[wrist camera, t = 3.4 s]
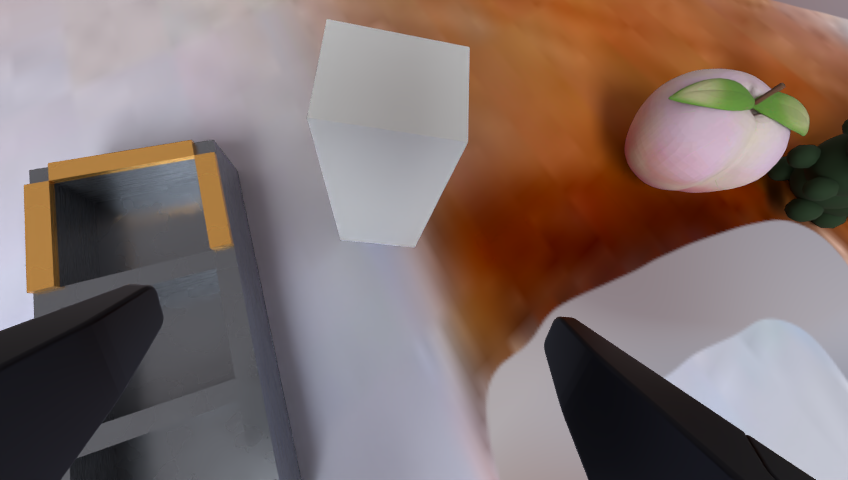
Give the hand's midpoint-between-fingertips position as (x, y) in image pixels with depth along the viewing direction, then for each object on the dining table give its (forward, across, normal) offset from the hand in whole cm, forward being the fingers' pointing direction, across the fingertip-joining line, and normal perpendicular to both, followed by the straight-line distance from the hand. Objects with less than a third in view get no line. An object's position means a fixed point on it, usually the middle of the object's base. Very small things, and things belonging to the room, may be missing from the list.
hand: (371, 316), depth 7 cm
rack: (+8, +10, +10) cm, 17 cm away
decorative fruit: (+20, -22, -1) cm, 29 cm away
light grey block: (+15, 0, +4) cm, 15 cm away
